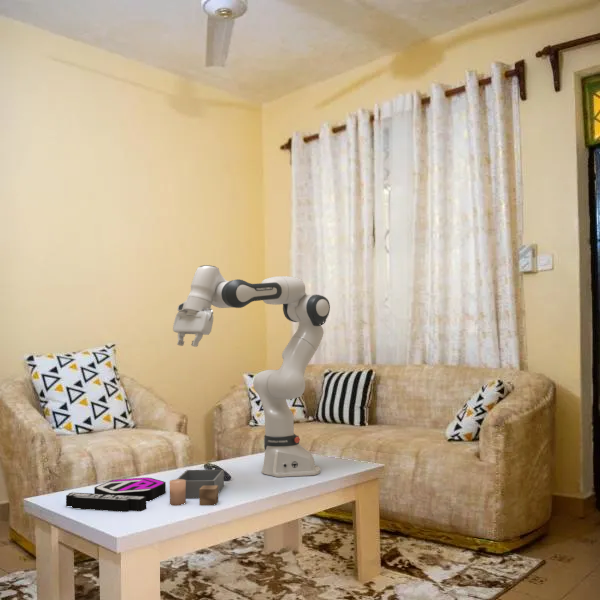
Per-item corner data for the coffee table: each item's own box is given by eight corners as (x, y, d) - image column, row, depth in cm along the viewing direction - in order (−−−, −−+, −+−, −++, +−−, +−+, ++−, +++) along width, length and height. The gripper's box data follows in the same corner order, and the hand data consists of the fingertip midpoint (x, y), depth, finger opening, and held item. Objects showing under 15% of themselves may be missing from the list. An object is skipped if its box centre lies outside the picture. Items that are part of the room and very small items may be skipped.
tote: (223, 485, 225) (223, 469, 225) (214, 498, 208) (214, 480, 208) (186, 486, 226) (186, 469, 226) (174, 498, 209) (174, 481, 209)
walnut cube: (218, 501, 205) (218, 485, 205) (215, 505, 200) (215, 489, 200) (202, 501, 205) (202, 485, 205) (199, 505, 200) (199, 489, 200)
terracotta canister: (187, 501, 205) (187, 479, 206) (183, 505, 200) (183, 482, 201) (172, 501, 206) (171, 479, 206) (168, 505, 201) (167, 482, 201)
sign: (138, 514, 193) (182, 490, 222) (138, 501, 193) (182, 479, 222) (60, 509, 200) (113, 487, 229) (60, 496, 200) (113, 476, 229)
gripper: (221, 310, 221) (210, 349, 218) (189, 311, 236) (179, 347, 233) (206, 305, 217) (195, 344, 214) (175, 305, 232) (164, 342, 229)
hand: (187, 345), depth 224 cm, fingers open, 8 cm apart
